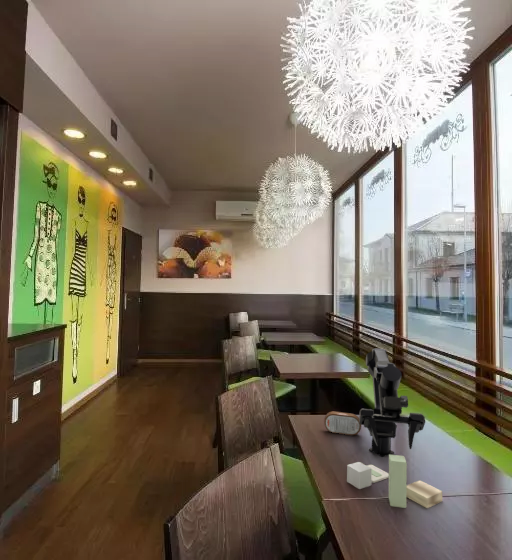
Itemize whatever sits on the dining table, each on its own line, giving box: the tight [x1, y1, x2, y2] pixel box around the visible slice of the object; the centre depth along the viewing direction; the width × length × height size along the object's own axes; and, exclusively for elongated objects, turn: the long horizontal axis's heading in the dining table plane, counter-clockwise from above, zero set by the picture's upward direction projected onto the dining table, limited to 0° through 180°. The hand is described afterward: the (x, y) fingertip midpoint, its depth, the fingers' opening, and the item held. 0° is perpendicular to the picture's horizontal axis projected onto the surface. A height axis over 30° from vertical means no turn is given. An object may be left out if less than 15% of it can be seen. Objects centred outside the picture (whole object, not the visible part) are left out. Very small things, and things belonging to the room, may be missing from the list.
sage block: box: [387, 454, 408, 509], centre depth 99 cm, size 4×4×12 cm
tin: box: [323, 411, 362, 436], centre depth 149 cm, size 15×3×8 cm, turn 74°
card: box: [367, 464, 389, 484], centre depth 115 cm, size 8×8×1 cm
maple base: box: [406, 479, 443, 509], centre depth 102 cm, size 7×7×3 cm
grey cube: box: [346, 461, 372, 490], centre depth 109 cm, size 5×5×5 cm
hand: (393, 446), depth 106 cm, fingers open, 9 cm apart
